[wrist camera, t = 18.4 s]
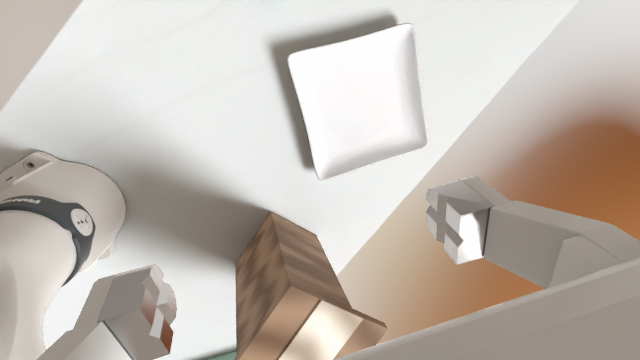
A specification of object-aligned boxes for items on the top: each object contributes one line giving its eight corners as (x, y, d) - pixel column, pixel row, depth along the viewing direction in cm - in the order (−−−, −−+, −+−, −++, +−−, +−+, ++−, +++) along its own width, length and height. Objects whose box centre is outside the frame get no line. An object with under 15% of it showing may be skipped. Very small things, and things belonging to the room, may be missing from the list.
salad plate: (421, 143, 63) (431, 147, 60) (314, 177, 60) (319, 183, 57) (404, 22, 56) (415, 20, 53) (281, 55, 53) (284, 54, 50)
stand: (287, 292, 66) (318, 421, 42) (222, 264, 61) (216, 393, 37) (330, 231, 64) (388, 330, 40) (267, 196, 59) (291, 286, 35)
